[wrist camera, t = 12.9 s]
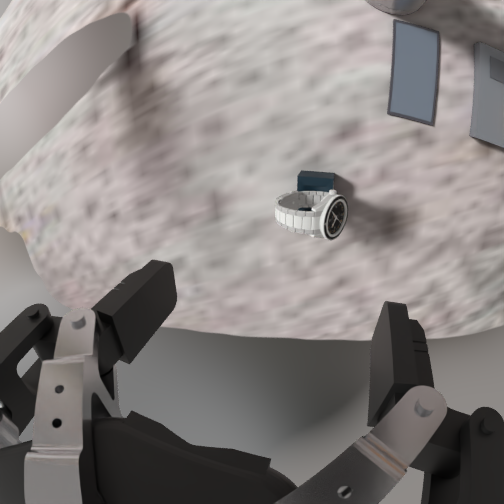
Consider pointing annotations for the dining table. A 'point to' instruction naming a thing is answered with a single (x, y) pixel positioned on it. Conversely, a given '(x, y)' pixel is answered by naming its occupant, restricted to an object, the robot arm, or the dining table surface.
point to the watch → (313, 207)
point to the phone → (413, 72)
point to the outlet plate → (488, 95)
